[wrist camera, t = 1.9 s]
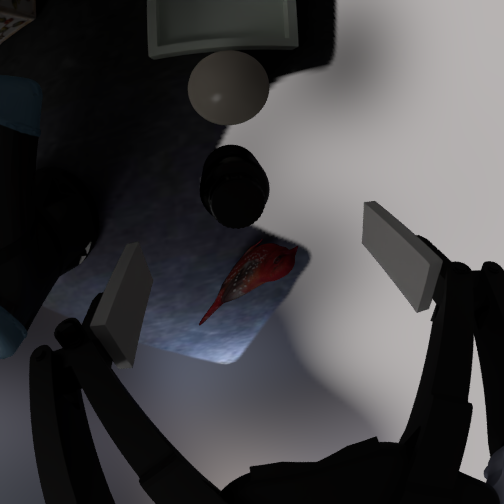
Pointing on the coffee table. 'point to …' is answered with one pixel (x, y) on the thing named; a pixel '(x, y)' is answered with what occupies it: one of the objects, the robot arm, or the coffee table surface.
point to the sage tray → (219, 26)
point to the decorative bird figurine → (254, 272)
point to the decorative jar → (15, 16)
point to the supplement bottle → (234, 186)
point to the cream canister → (228, 87)
